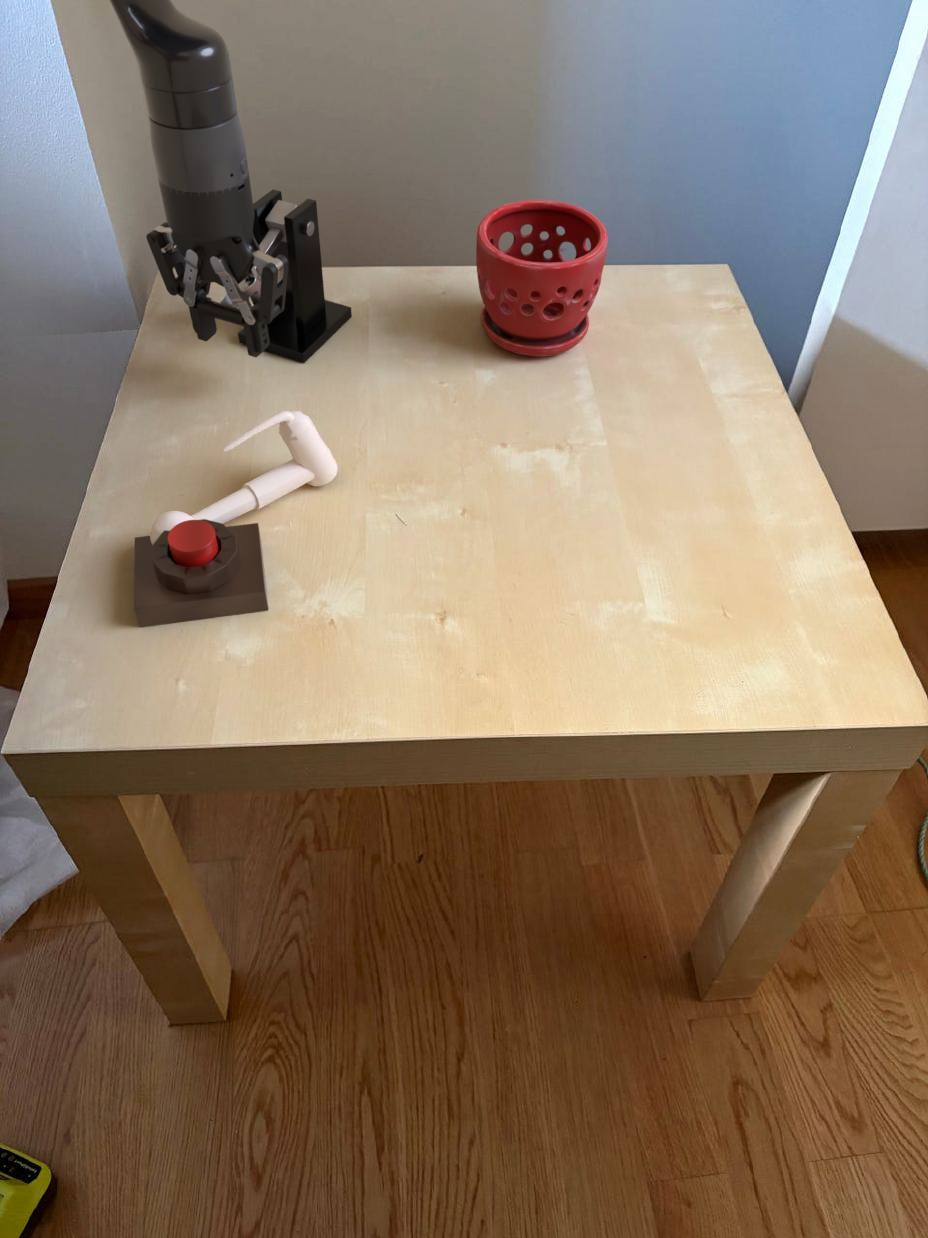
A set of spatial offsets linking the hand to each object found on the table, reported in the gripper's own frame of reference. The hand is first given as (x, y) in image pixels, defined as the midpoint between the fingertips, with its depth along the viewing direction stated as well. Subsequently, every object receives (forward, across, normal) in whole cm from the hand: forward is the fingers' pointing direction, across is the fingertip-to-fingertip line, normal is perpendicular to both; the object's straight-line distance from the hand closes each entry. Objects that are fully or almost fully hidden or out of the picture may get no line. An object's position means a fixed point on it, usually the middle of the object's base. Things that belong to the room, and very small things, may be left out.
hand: (232, 343), depth 93 cm
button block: (+5, +13, -24) cm, 28 cm away
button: (+1, +13, -24) cm, 28 cm away
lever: (-5, 0, +6) cm, 7 cm away
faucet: (+5, +12, -16) cm, 21 cm away
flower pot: (+5, +23, +22) cm, 32 cm away
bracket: (+5, 0, +11) cm, 12 cm away
